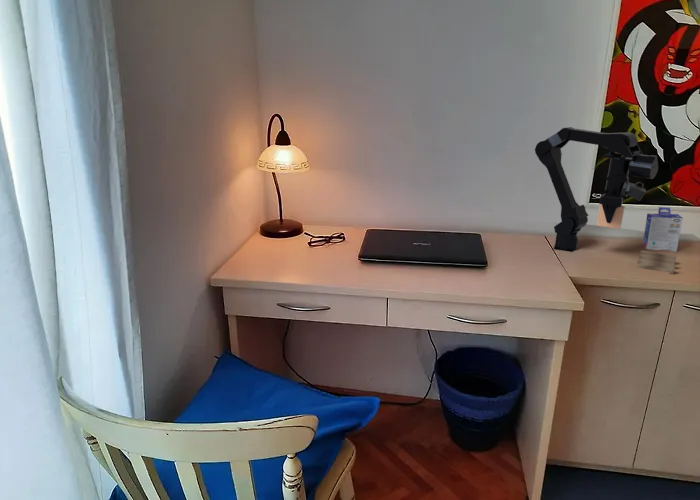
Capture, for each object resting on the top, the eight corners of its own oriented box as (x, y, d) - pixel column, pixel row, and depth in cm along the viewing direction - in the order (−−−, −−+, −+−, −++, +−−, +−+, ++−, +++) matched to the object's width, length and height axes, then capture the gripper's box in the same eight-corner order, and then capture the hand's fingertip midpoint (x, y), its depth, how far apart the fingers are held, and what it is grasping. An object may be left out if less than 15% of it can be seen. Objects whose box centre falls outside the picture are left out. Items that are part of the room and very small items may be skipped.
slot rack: (636, 267, 168) (638, 258, 167) (639, 258, 176) (641, 250, 175) (673, 274, 163) (675, 265, 162) (674, 265, 171) (676, 256, 170)
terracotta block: (596, 225, 174) (599, 204, 172) (597, 223, 176) (601, 202, 174) (619, 229, 171) (624, 207, 168) (620, 227, 173) (624, 206, 170)
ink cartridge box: (671, 247, 187) (679, 207, 182) (677, 252, 182) (685, 211, 177) (640, 246, 189) (647, 206, 184) (645, 251, 184) (652, 210, 179)
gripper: (644, 181, 156) (634, 233, 161) (649, 172, 171) (639, 219, 176) (603, 177, 162) (594, 226, 167) (611, 168, 177) (602, 214, 182)
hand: (609, 221), depth 173 cm, fingers closed on terracotta block, 2 cm apart
